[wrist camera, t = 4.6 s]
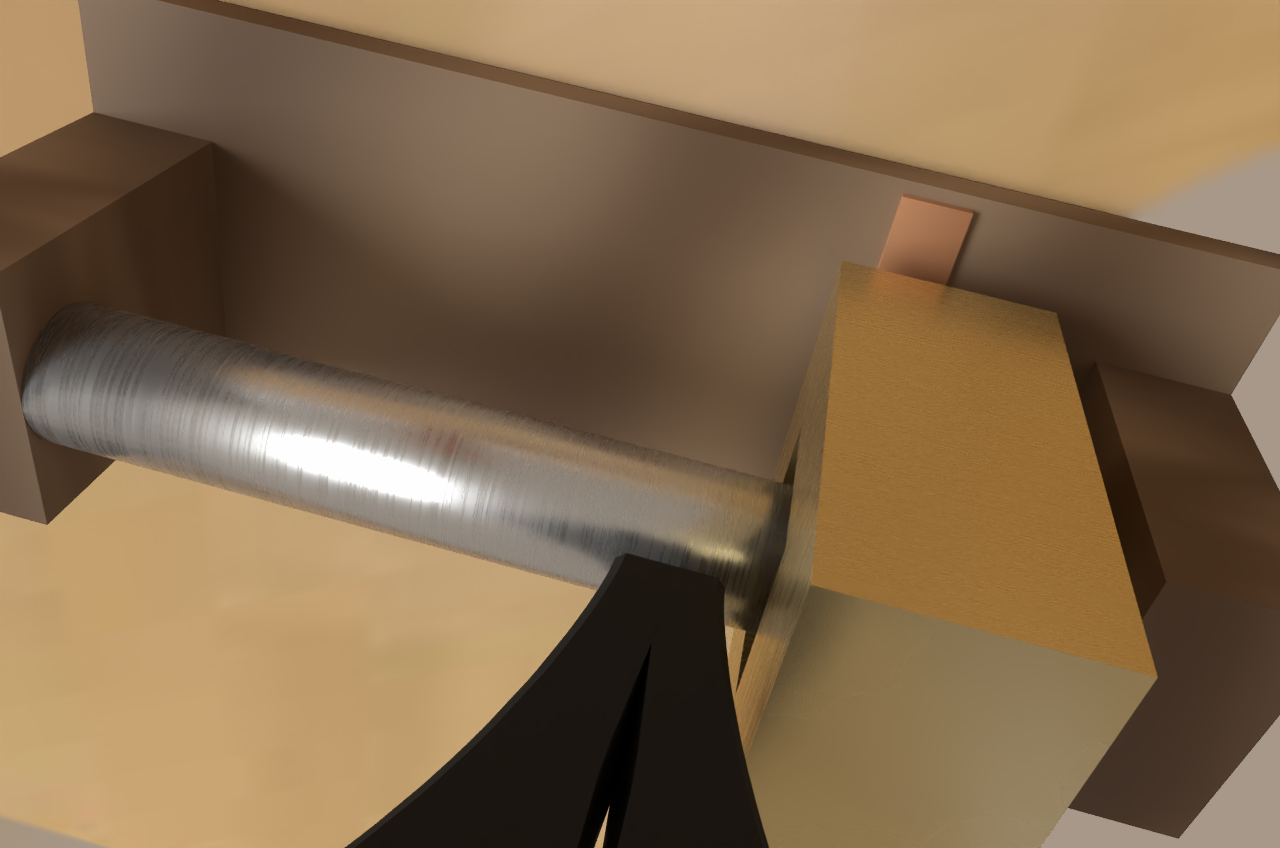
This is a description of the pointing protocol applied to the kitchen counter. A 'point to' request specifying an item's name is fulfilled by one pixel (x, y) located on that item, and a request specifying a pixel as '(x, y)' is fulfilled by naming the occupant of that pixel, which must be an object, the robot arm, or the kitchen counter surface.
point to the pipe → (397, 456)
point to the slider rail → (640, 299)
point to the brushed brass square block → (937, 584)
